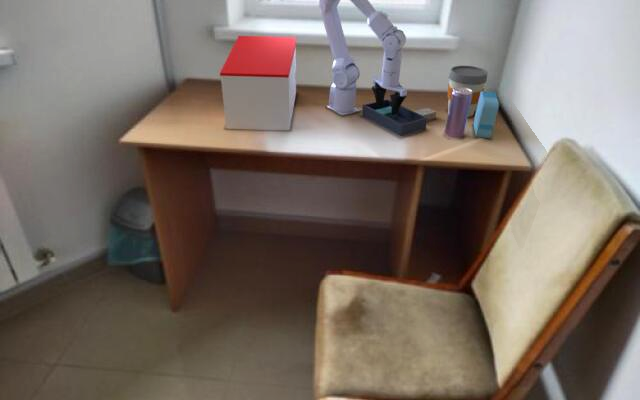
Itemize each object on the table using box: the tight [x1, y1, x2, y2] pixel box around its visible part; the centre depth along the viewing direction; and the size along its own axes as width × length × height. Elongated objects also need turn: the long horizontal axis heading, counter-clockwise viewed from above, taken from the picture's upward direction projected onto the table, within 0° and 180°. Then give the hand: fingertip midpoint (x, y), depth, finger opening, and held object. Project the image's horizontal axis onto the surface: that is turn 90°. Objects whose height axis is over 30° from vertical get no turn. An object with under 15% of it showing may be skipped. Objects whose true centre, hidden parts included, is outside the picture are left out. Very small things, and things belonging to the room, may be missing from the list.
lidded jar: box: [447, 65, 488, 118], centre depth 154 cm, size 13×13×15 cm
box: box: [361, 98, 428, 137], centre depth 148 cm, size 20×11×4 cm, turn 34°
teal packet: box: [375, 106, 398, 119], centre depth 151 cm, size 4×7×3 cm, turn 124°
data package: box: [473, 90, 500, 139], centre depth 141 cm, size 12×4×12 cm, turn 167°
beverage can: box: [444, 87, 472, 139], centre depth 138 cm, size 6×6×15 cm
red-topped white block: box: [219, 35, 297, 131], centre depth 151 cm, size 21×35×21 cm, turn 179°
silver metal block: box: [413, 107, 437, 121], centre depth 152 cm, size 4×7×3 cm, turn 124°
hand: (386, 110), depth 150 cm, fingers open, 7 cm apart
